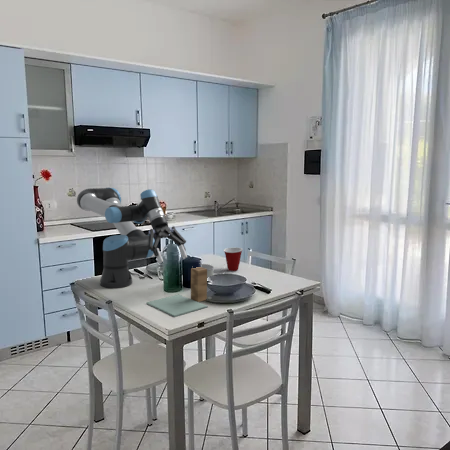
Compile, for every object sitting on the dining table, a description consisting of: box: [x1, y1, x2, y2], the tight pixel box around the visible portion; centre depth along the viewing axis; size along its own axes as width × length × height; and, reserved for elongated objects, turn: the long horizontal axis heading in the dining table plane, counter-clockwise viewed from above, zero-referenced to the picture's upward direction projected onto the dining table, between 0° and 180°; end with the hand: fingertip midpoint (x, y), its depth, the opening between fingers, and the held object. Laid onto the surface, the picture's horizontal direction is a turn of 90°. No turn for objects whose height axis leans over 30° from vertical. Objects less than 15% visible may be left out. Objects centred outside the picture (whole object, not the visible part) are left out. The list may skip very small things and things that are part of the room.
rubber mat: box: [146, 293, 208, 318], centre depth 177 cm, size 20×17×1 cm
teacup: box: [200, 263, 215, 278], centre depth 212 cm, size 14×11×8 cm
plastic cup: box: [223, 246, 243, 272], centre depth 236 cm, size 11×11×12 cm
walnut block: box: [190, 267, 208, 303], centre depth 185 cm, size 5×5×14 cm
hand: (173, 260), depth 192 cm, fingers open, 13 cm apart
